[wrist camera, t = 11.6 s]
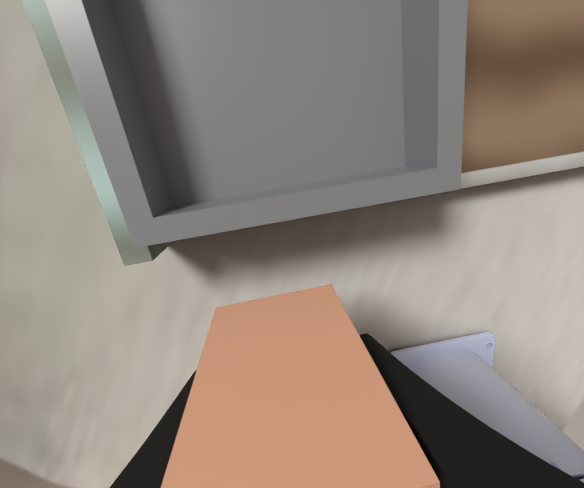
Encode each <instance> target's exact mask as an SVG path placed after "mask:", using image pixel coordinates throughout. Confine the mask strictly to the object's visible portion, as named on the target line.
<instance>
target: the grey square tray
mask: <svg viewBox="0 0 584 488" xmlns="http://www.w3.org/2000/svg"><path fill="white" fill-rule="evenodd" d="M45 2H46V5H47V8H48V11H49V13H50V16H51V19H52V22H53V24H54V27H55V30H56V33H57V35H58V38H59V41H60V44H61V46H62V49H63V52H64V55H65V57H66V60H67V63H68V66H69V68H70V71H71V74H72V77H73V79H74V82H75V85H76V88H77V90H78V93H79V96H80V99H81V101H82V104H83V107H84V110H85V112H86V115H87V118H88V121H89V123H90V126H91V129H92V132H93V134H94V137H95V140H96V143H97V145H98V148H99V151H100V154H101V156H102V159H103V162H104V165H105V167H106V170H107V173H108V176H109V178H110V181H111V184H112V187H113V189H114V192H115V195H116V198H117V200H118V203H119V206H120V209H121V211H122V214H123V217H124V220H125V222H126V225H127V228H128V231H129V233H130V236H131V239H132V242H133V244H134V247H135V248H138V247H143V246H149V245H155V244H160V243H166V242H171V241H177V240H182V239H188V238H193V237H199V236H204V235H210V234H216V233H221V232H227V231H232V230H238V229H243V228H249V227H254V226H260V225H265V224H271V223H277V222H282V221H288V220H293V219H299V218H304V217H310V216H315V215H321V214H326V213H332V212H338V211H343V210H349V209H354V208H360V207H365V206H371V205H376V204H382V203H387V202H393V201H399V200H404V199H410V198H415V197H421V196H426V195H432V194H437V193H443V192H448V191H454V190H460V189H461V168H462V142H463V115H464V89H465V62H466V36H467V9H468V0H45Z"/></svg>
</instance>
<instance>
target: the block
mask: <svg viewBox="0 0 584 488" xmlns="http://www.w3.org/2000/svg"><path fill="white" fill-rule="evenodd" d="M161 488H440V481H439V480H438V478H437V476H436V474H435V472H434V471H433V469H432V467H431V465H430V463H429V461H428V460H427V458H426V456H425V454H424V452H423V451H422V449H421V447H420V445H419V443H418V441H417V440H416V438H415V436H414V434H413V432H412V430H411V429H410V427H409V425H408V423H407V421H406V420H405V418H404V416H403V414H402V412H401V410H400V409H399V407H398V405H397V403H396V401H395V400H394V398H393V396H392V394H391V392H390V390H389V389H388V387H387V385H386V383H385V381H384V380H383V378H382V376H381V374H380V372H379V370H378V369H377V367H376V365H375V363H374V361H373V360H372V358H371V356H370V354H369V352H368V350H367V349H366V347H365V345H364V343H363V341H362V340H361V338H360V336H359V334H358V332H357V330H356V329H355V327H354V325H353V323H352V321H351V319H350V318H349V316H348V314H347V312H346V310H345V309H344V307H343V305H342V303H341V301H340V299H339V298H338V296H337V294H336V292H335V290H334V289H333V287H332V285H331V284H330V285H325V286H320V287H315V288H311V289H306V290H301V291H296V292H291V293H286V294H281V295H276V296H271V297H267V298H262V299H257V300H252V301H247V302H242V303H237V304H232V305H228V306H223V307H218V308H216V309H215V312H214V316H213V319H212V322H211V325H210V329H209V332H208V335H207V338H206V342H205V345H204V348H203V352H202V355H201V358H200V361H199V365H198V368H197V371H196V374H195V378H194V381H193V384H192V387H191V391H190V394H189V397H188V400H187V404H186V407H185V410H184V413H183V417H182V420H181V423H180V426H179V430H178V433H177V436H176V440H175V443H174V446H173V449H172V453H171V456H170V459H169V462H168V466H167V469H166V472H165V475H164V479H163V482H162V485H161Z"/></svg>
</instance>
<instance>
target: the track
mask: <svg viewBox="0 0 584 488" xmlns="http://www.w3.org/2000/svg"><path fill="white" fill-rule="evenodd" d="M22 1H23V3H24V6H25V8H26V11H27V14H28V16H29V19H30V21H31V24H32V27H33V29H34V32H35V34H36V37H37V40H38V42H39V45H40V47H41V50H42V53H43V55H44V58H45V60H46V63H47V66H48V68H49V71H50V73H51V76H52V79H53V81H54V84H55V86H56V89H57V92H58V94H59V97H60V99H61V102H62V105H63V107H64V110H65V112H66V115H67V118H68V120H69V123H70V125H71V128H72V131H73V133H74V136H75V138H76V141H77V144H78V146H79V149H80V151H81V154H82V156H83V159H84V162H85V164H86V167H87V169H88V172H89V175H90V177H91V180H92V182H93V185H94V188H95V190H96V193H97V195H98V198H99V201H100V203H101V206H102V208H103V211H104V214H105V216H106V219H107V221H108V224H109V227H110V229H111V232H112V234H113V237H114V240H115V242H116V245H117V247H118V250H119V253H120V255H121V258H122V260H123V263H124V266H126V265H132V264H137V263H143V262H148V261H153V260H154V259H155V258H156V257H157V256H158V255H159V254H160V253H161V252H162V251H164V250H165V249H166V248H167V247H168V246H169V245H170V244H171V243H172V242H173V241H171V242H166V243H160V244H155V245H149V246H143V247H138V248H135V247H134V244H133V242H132V239H131V236H130V233H129V231H128V228H127V225H126V222H125V220H124V217H123V214H122V211H121V209H120V206H119V203H118V200H117V198H116V195H115V192H114V189H113V187H112V184H111V181H110V178H109V176H108V173H107V170H106V167H105V165H104V162H103V159H102V156H101V154H100V151H99V148H98V145H97V143H96V140H95V137H94V134H93V132H92V129H91V126H90V123H89V121H88V118H87V115H86V112H85V110H84V107H83V104H82V101H81V99H80V96H79V93H78V90H77V88H76V85H75V82H74V79H73V77H72V74H71V71H70V68H69V66H68V63H67V60H66V57H65V55H64V52H63V49H62V46H61V44H60V41H59V38H58V35H57V33H56V30H55V27H54V24H53V22H52V19H51V16H50V13H49V11H48V8H47V5H46V2H45V0H22ZM581 167H584V0H468V9H467V36H466V62H465V89H464V115H463V142H462V168H461V189H465V188H470V187H476V186H481V185H487V184H492V183H498V182H503V181H509V180H514V179H520V178H526V177H531V176H537V175H542V174H548V173H553V172H559V171H564V170H570V169H575V168H581Z"/></svg>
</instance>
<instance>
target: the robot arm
mask: <svg viewBox="0 0 584 488" xmlns="http://www.w3.org/2000/svg"><path fill="white" fill-rule="evenodd" d="M359 336H360V338H361V340H362V341H363V343H364V345H365V347H366V349H367V350H368V352H369V354H370V356H371V358H372V360H373V361H374V363H375V365H376V367H377V369H378V370H379V372H380V374H381V376H382V378H383V380H384V381H385V383H386V385H387V387H388V389H389V390H390V392H391V394H392V396H393V398H394V400H395V401H396V403H397V405H398V407H399V409H400V410H401V412H402V414H403V416H404V418H405V420H406V421H407V423H408V425H409V427H410V429H411V430H412V432H413V434H414V436H415V438H416V440H417V441H418V443H419V445H420V447H421V449H422V451H423V452H424V454H425V456H426V458H427V460H428V461H429V463H430V465H431V467H432V469H433V471H434V472H435V474H436V476H437V478H438V480H439V481H440V488H584V451H583V450H582V449H581V448H580V447H578V445H576V444H575V443H574V442H573V441H572V440H571V439H570V438H569V437H568V436H567V435H565V434H564V433H563V432H562V431H561V430H560V429H559V428H558V427H557V426H556V425H554V424H553V423H552V422H551V421H550V420H549V419H548V418H547V417H546V416H545V415H543V414H542V413H541V412H540V411H539V410H538V409H537V408H536V407H535V406H534V405H533V404H531V403H530V402H529V401H528V400H527V399H526V398H525V397H524V396H523V395H522V394H520V393H519V392H518V391H517V390H516V389H515V388H514V387H513V386H512V385H511V384H509V383H508V382H507V381H506V380H505V379H504V378H503V377H502V376H501V375H500V374H498V373H497V372H496V371H495V370H494V369H493V362H494V351H495V340H496V337H495V335H494V334H492V333H491V332H482V333H478V334H473V335H468V336H463V337H459V338H454V339H449V340H444V341H439V342H435V343H430V344H425V345H420V346H415V347H411V348H406V349H401V350H396V351H393V352H391V353H390V352H389V351H388V350H386V349H385V348H384V347H383V346H382V345H381V344H379V343H378V342H377V341H376V340H375V339H374V338H373V337H372V336H370V335H369V334H367V333H366V334H362V335H359ZM196 371H197V370H196ZM196 371H195V372H194V373H193V375H192V376H191V377H190V379H189V380H188V382H187V383H186V384H185V386H184V387H183V389H182V390H181V392H180V393H179V395H178V396H177V397H176V399H175V400H174V402H173V403H172V405H171V406H170V407H169V409H168V410H167V412H166V413H165V415H164V416H163V417H162V419H161V420H160V422H159V423H158V424H157V426H156V427H155V428H154V430H153V431H152V433H151V434H150V435H149V437H148V438H147V439H146V441H145V442H144V444H143V445H142V446H141V448H140V449H139V450H138V452H137V453H136V454H135V456H134V457H133V458H132V459H131V461H130V462H129V463H128V465H127V466H126V467H125V468H124V470H123V471H122V472H121V474H120V475H119V476H118V478H117V479H116V480H115V481H114V483H113V484H112V485H111V487H110V488H161V485H162V482H163V479H164V475H165V472H166V469H167V466H168V462H169V459H170V456H171V453H172V449H173V446H174V443H175V440H176V436H177V433H178V430H179V426H180V423H181V420H182V417H183V413H184V410H185V407H186V404H187V400H188V397H189V394H190V391H191V387H192V384H193V381H194V378H195V374H196Z"/></svg>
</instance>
